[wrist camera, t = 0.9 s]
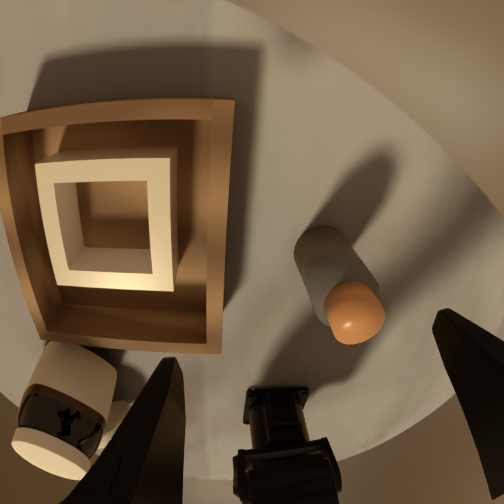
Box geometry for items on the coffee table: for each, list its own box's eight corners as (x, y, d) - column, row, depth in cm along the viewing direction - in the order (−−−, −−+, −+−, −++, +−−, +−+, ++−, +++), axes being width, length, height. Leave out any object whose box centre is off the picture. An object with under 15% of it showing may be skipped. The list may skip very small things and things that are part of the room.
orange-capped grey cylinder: (340, 274, 24) (380, 347, 17) (290, 273, 24) (317, 353, 17) (351, 227, 22) (403, 292, 15) (298, 224, 22) (334, 294, 15)
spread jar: (58, 313, 24) (8, 421, 13) (166, 370, 28) (155, 483, 18) (36, 374, 28) (5, 458, 17) (121, 417, 32) (108, 503, 22)
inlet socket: (178, 265, 21) (173, 291, 19) (73, 261, 20) (57, 284, 18) (177, 147, 18) (170, 158, 15) (57, 151, 17) (34, 163, 14)
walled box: (220, 315, 25) (221, 354, 21) (59, 306, 23) (41, 339, 19) (232, 98, 17) (235, 100, 13) (26, 111, 15) (-10, 120, 12)
